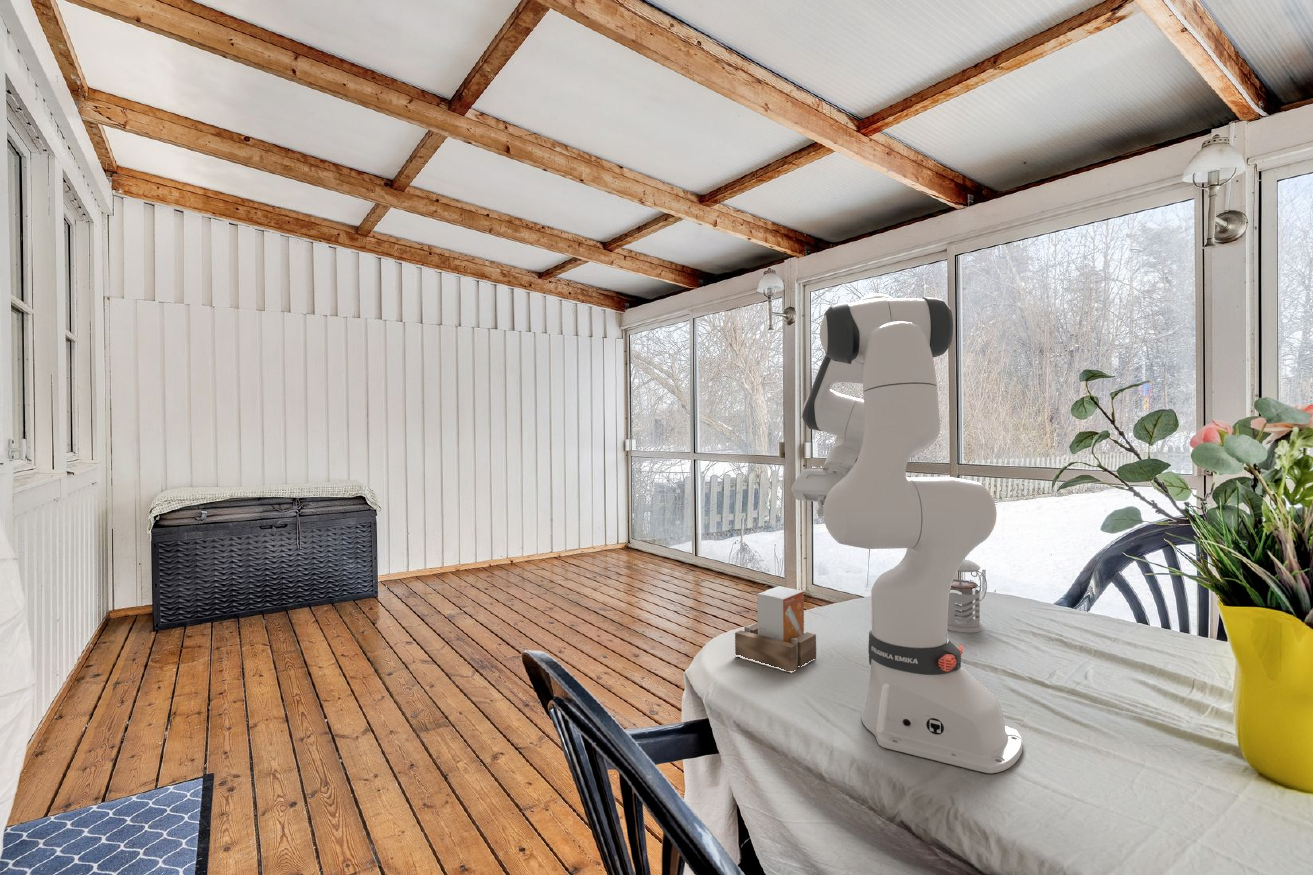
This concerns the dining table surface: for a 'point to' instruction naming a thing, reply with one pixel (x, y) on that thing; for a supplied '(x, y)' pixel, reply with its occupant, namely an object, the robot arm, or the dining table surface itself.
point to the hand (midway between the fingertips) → (823, 515)
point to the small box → (781, 613)
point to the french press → (965, 602)
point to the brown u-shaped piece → (775, 648)
